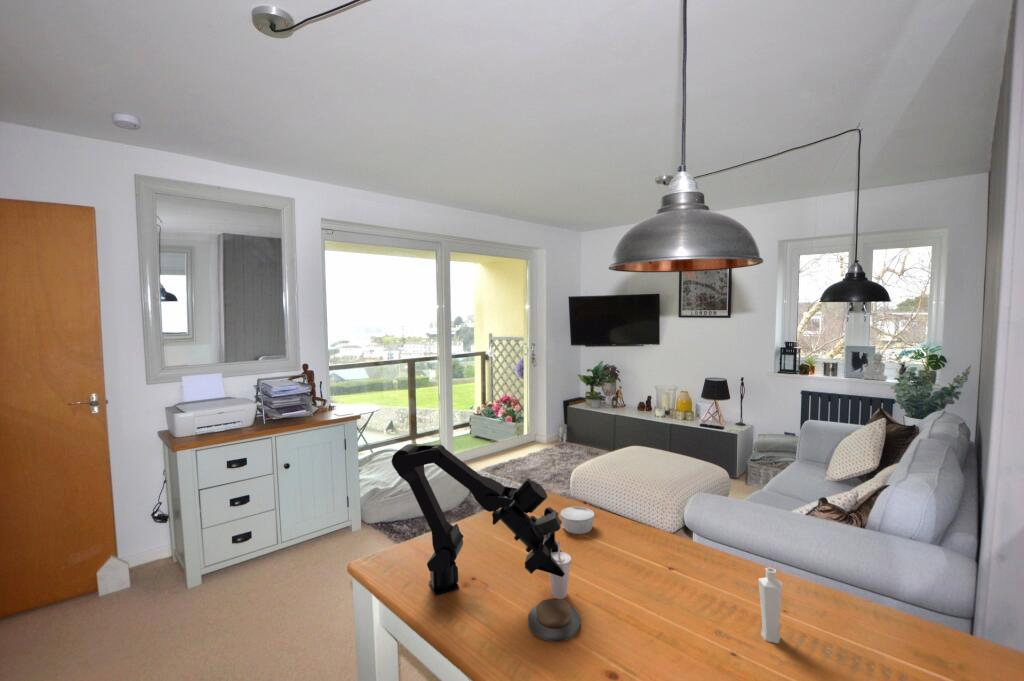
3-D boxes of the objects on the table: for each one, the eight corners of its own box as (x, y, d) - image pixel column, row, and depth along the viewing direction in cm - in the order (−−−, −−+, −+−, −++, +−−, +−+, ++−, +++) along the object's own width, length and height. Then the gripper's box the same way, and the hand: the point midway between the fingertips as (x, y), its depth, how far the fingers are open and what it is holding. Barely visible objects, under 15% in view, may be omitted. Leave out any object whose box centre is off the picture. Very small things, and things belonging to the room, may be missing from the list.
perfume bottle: (761, 627, 105) (760, 562, 104) (783, 635, 102) (783, 568, 101) (756, 638, 101) (756, 571, 101) (779, 647, 99) (779, 577, 98)
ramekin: (596, 523, 160) (596, 507, 160) (592, 538, 149) (591, 521, 149) (564, 519, 163) (564, 504, 163) (557, 534, 153) (557, 518, 152)
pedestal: (544, 648, 100) (544, 632, 100) (519, 616, 111) (518, 602, 111) (590, 630, 105) (590, 615, 105) (562, 602, 116) (562, 588, 116)
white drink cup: (552, 604, 115) (550, 549, 115) (543, 589, 122) (542, 537, 121) (576, 599, 117) (574, 544, 116) (566, 585, 123) (565, 533, 123)
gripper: (537, 518, 110) (585, 567, 108) (545, 489, 128) (587, 530, 127) (505, 549, 111) (552, 598, 110) (518, 516, 130) (558, 557, 128)
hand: (564, 568), depth 119 cm, fingers closed on white drink cup, 6 cm apart
